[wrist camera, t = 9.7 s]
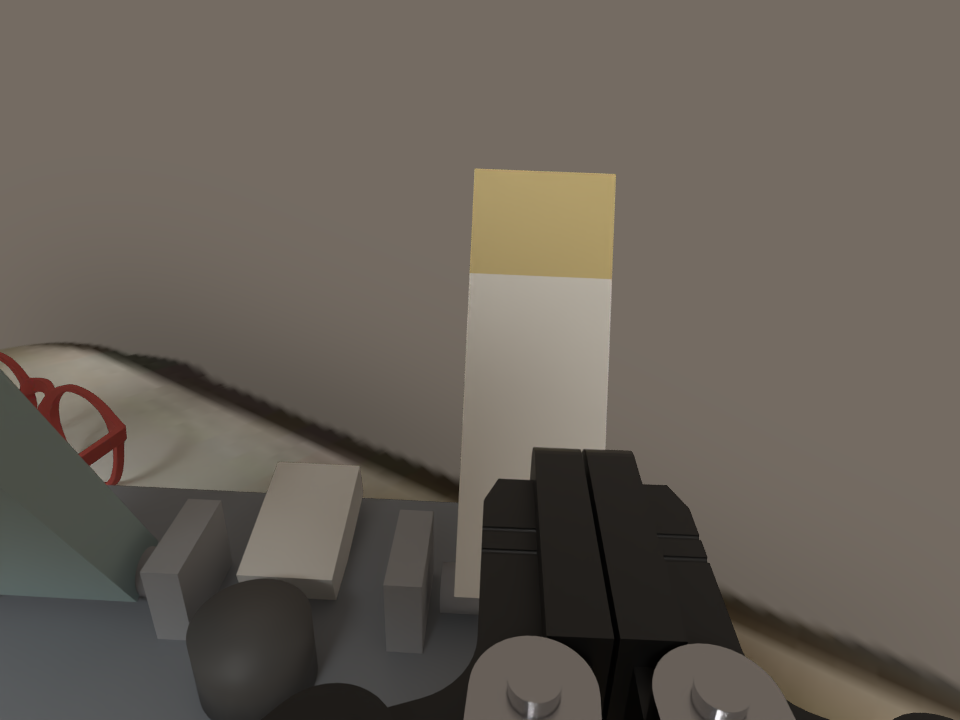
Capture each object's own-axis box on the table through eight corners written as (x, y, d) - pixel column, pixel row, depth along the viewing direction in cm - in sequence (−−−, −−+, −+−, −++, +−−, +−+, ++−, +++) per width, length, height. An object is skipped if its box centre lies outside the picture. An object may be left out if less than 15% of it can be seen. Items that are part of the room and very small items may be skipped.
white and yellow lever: (438, 621, 19) (460, 167, 19) (443, 602, 20) (463, 187, 21) (613, 631, 19) (630, 174, 19) (603, 610, 20) (618, 193, 21)
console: (-111, 862, 18) (-238, 674, 15) (93, 583, 27) (43, 425, 24) (659, 911, 18) (713, 729, 14) (610, 611, 27) (636, 453, 23)
